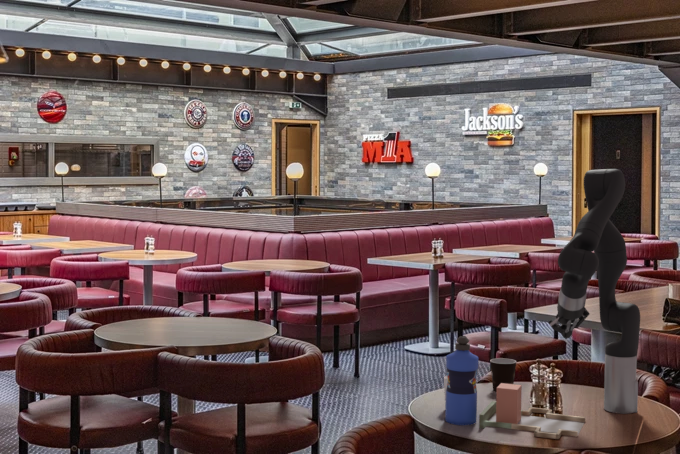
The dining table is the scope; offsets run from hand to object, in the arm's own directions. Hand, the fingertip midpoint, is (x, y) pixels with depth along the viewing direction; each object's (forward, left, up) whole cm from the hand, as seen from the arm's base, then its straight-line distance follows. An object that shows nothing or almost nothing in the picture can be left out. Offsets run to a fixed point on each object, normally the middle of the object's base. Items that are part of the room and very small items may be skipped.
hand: (566, 336), depth 264 cm
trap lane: (+11, +14, -24) cm, 30 cm away
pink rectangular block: (+18, +11, -23) cm, 31 cm away
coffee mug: (+14, -29, -24) cm, 40 cm away
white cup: (+32, -3, -24) cm, 40 cm away
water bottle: (+32, +9, -24) cm, 41 cm away
